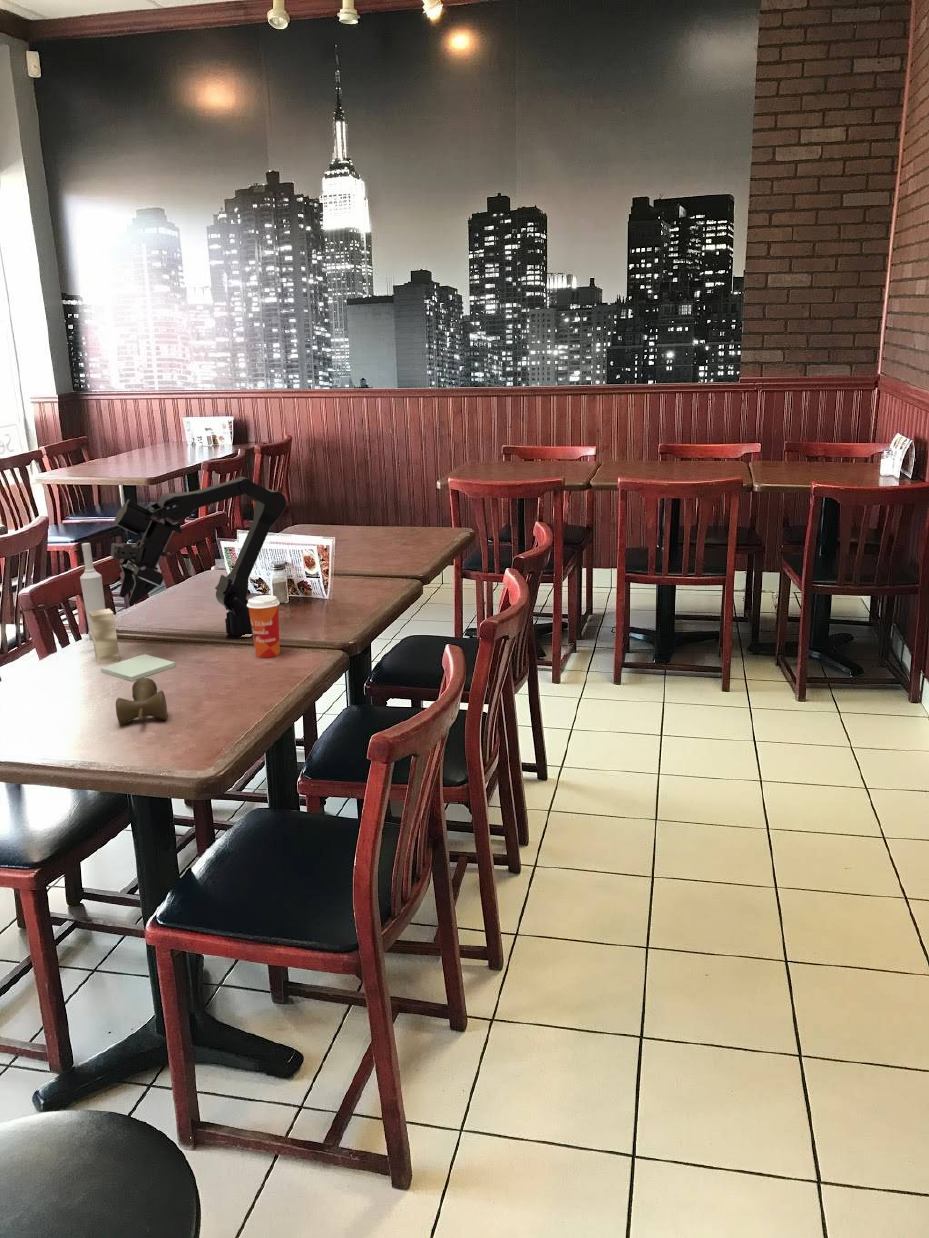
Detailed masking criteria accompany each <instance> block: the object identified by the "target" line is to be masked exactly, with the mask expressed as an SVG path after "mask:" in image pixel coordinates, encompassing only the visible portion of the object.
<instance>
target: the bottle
mask: <svg viewBox="0 0 929 1238" xmlns="http://www.w3.org/2000/svg"><path fill="white" fill-rule="evenodd" d="M91 547H92V546H91V543H90V542H83V543H81V549H82V555H83V563H84V568H85V569H84V572H83V573H82V574H81V576H79V579H80V586H81V590H82V596H83V598H82V599H83V602H84V609H85V615H86V621H87V627H88V637H89V640H91V641H93V637H92V630H91V623H90V617H89V612H90V611H97V610H103V609H106V604H105V603H106V602H105V596H104V587H103V577H102V574H101V573H99V572H98V571H96V569H95V568H94V563H93V554H92V548H91Z"/></svg>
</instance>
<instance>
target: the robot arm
mask: <svg viewBox="0 0 929 1238" xmlns="http://www.w3.org/2000/svg"><path fill="white" fill-rule="evenodd" d="M242 495H244V496H246V497H247V498H248V499H250V500H252V501H254V502H255V503H254V506H253V520H252V523H251V526H250V527H249V530H248V532H247V534H246V537H245V539H244V542H243V545H242V546H241V549H240V551H239V553H238V556H237V558H236V561H235V563H234V565H233V567H232V569H231V571H229V573H228V574H227V575H224V574H221V575H220V577H219V580H218V584H217V585H216V586H215V587H214V589H215V590H216V591H215V597H216V600H217V602H218V603H219V604H220V605H221V606H224V608H225V610H226V611H228V612H226V617H225V619H224V622H225V630H226V637H225V638H226V639H237V638H236V637H241V636H242V635H245V634H253V633H252V627H251V621H250V614H249V608H248V607H247V604H248V600H249V599H247V595H248V592H249V579H250V577H251V574H252V571H253V568H254V566H255V564H256V561H257V559H258V557H259V555H260V553H261V550H262V547H264V546H263V545H264V543H265V541H266V539H267V536H268V534H269V531H270V529H271V527H272V526H273V525H274V524H275V523H276V522H277V521H278V520H279V519H280V518H281V516H282V514H283V513H284V511H285V510H286V508H287V499H286V497H285V495H284V494H283V493H282V492H279V491H276V490H272V489H269V488H264V487H263V486H261V485H259V484H257V483H256V482H254V481H252V480H251V479H249V478H247V477H244V476H238V477H236V478H234V479H230V480H228V481H224V482H221V483H217V484H214V485H211V486H207V487H204V488H200V489H197V490H194V491H182V492H181V491H180V492H171V493H165V494H163V495H161V496H160V497H159V499H158V500H157V502H155V503H153V504H151V505H148V506H147V507H144V506H141V505H139V504H137V503H136V502H135V501H133V500H130V499H126V501H125V503H124V504H122V506H121V508H120V509H118V511H117V513H116V516H115V518H114V522H113V523H114V525H115V526H117V527H120V528H121V529H124V530H125V531H127V532H128V531H129V532H130V533H133V534H134V535H139V534H141V533H142V534H143V533H144V535H143V537H142V539H141V540H140V539H139V540H137V541H136V543H135V544H132V543H125V542H123V543H114V542H113V543H111V547H110V548H111V549H110V557H111V558H112V559H114V560H119V562H118V563H120V564H119V568H121V569H120V570H121V571H122V580H121V583H120V585H121V586H120V591H119V595H118V596H119V597H120V598H123V599H124V598H125V597H126V596H127V595H128V594H130V596H129V600H128V603H127V604H128V605H130V606H134V605H136V604H137V603H138V602H139V601H141V599H143V598H144V597H145V596H147V595H148V594H149V593H151V591H153V590H154V589H155V588H158V586H162V583H163V582H164V578H165V577H164V574H163V573H162V572H161V571H160V570H159V568H158V564H159V561H160V560H161V558H162V557H165V555H166V551H165V550H166V548H167V545H168V544H169V542H170V540H171V537H172V535H173V533H174V532H175V533H178V534H179V535H182V534H183V533H184V532H183V530H182V528H181V523H180V522H178V521H179V520H181V519H183V518H185V517H187V516H189V515H191V514H192V513H194V512H196V510H199V509H200V508H203V507H206V506H210V505H213V504H215V503H219V502H222V501H226V500H229V499H232V498H235V497H238V496H239V497H240V496H242ZM152 516H153V517H155V518H157V519H160V520H156V519H155V518H152ZM166 518H167V519H169V520H172V521H175V522H171V521H169V520H167V519H166ZM130 592H131V593H130Z"/></svg>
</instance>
